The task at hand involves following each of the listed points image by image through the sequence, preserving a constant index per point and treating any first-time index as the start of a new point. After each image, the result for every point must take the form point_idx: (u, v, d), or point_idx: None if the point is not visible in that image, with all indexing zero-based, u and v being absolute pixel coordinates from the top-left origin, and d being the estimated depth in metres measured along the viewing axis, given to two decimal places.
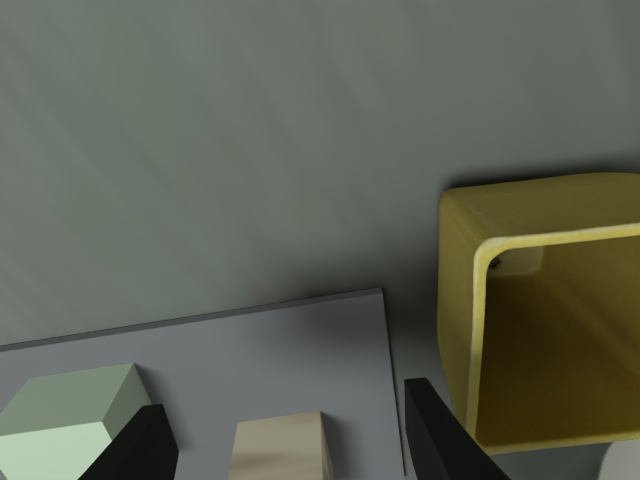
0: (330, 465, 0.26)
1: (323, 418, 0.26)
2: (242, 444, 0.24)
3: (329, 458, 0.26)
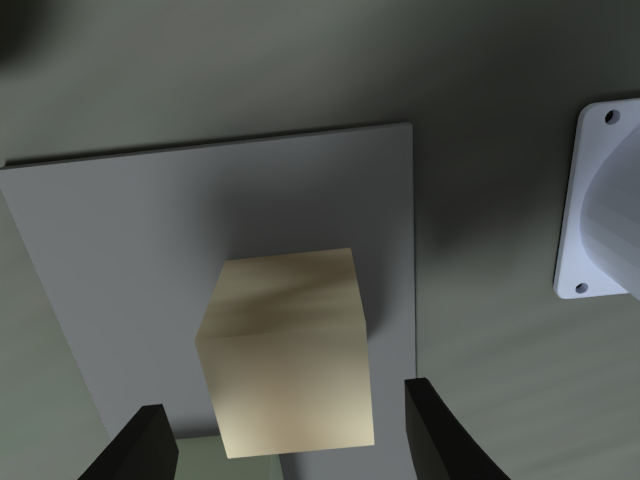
0: (323, 258, 0.16)
1: (241, 256, 0.17)
2: None
3: (312, 257, 0.16)
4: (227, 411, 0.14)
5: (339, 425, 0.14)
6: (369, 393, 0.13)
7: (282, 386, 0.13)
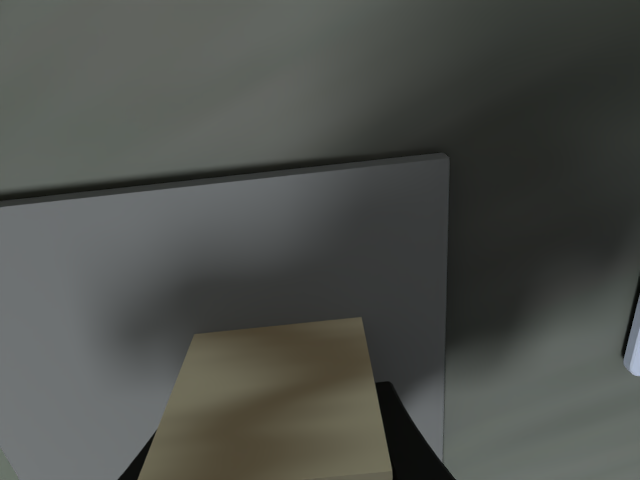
0: (324, 335, 0.12)
1: (215, 329, 0.13)
2: None
3: (310, 332, 0.12)
4: None
5: None
6: None
7: None
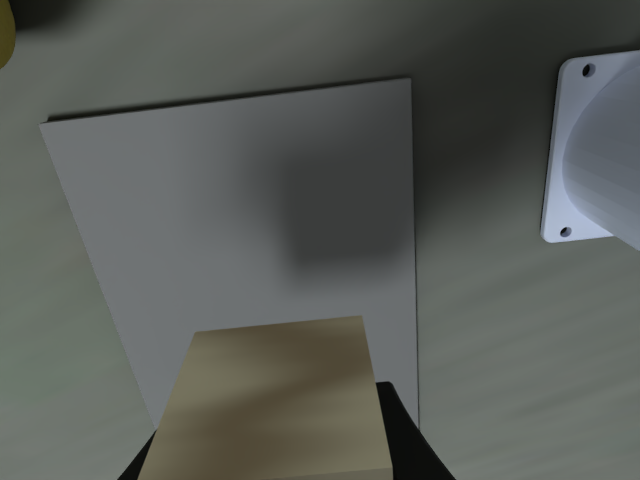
0: (325, 333, 0.12)
1: (258, 203, 0.19)
2: None
3: (311, 330, 0.12)
4: None
5: None
6: None
7: None
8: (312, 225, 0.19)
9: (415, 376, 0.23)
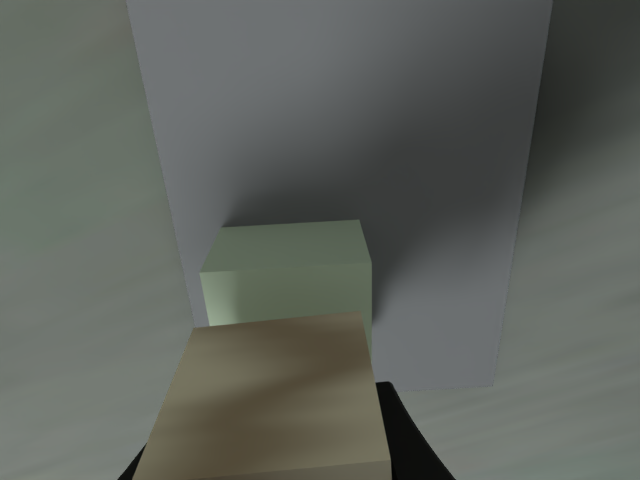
0: (324, 329, 0.12)
1: None
2: None
3: (310, 326, 0.12)
4: None
5: None
6: None
7: None
8: None
9: (514, 236, 0.19)
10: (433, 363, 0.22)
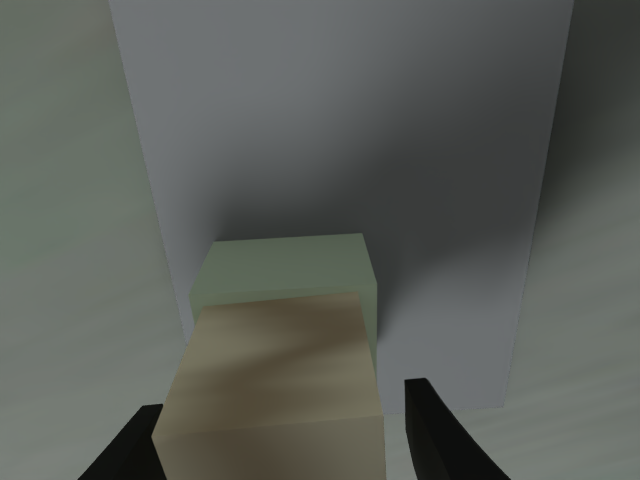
0: (324, 307, 0.13)
1: None
2: None
3: (311, 304, 0.13)
4: None
5: None
6: None
7: None
8: None
9: (528, 250, 0.18)
10: (440, 383, 0.21)
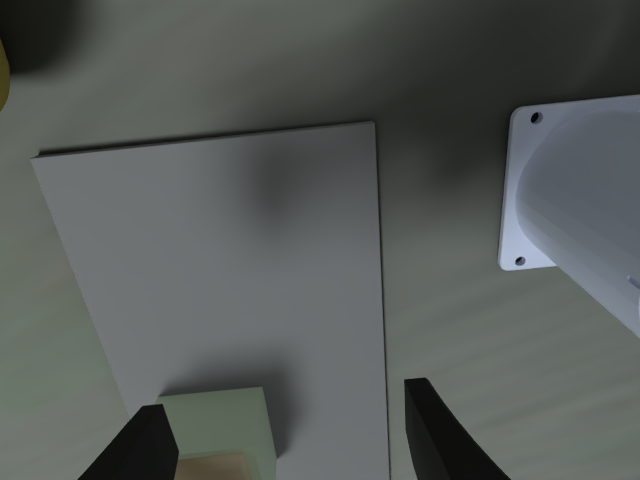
0: (217, 467, 0.20)
1: (234, 232, 0.20)
2: None
3: (210, 465, 0.20)
4: None
5: None
6: None
7: None
8: (285, 252, 0.21)
9: (384, 391, 0.25)
10: (338, 477, 0.28)
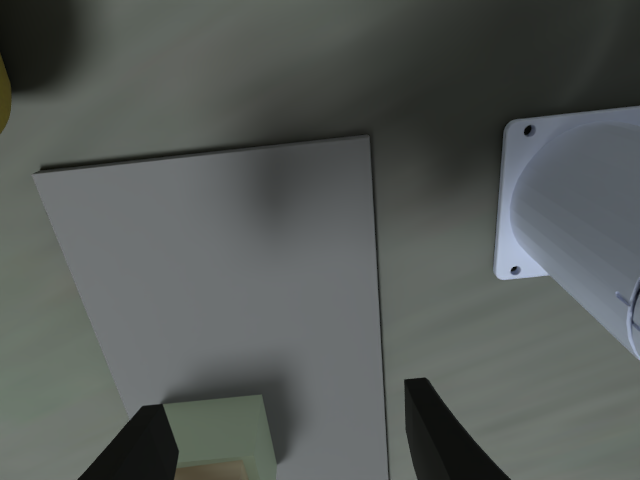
0: (217, 475, 0.20)
1: (233, 244, 0.20)
2: None
3: (210, 473, 0.21)
4: None
5: None
6: None
7: None
8: (283, 263, 0.21)
9: (382, 398, 0.25)
10: None
